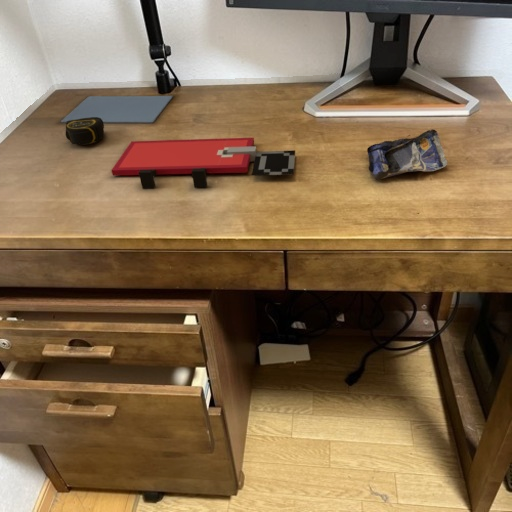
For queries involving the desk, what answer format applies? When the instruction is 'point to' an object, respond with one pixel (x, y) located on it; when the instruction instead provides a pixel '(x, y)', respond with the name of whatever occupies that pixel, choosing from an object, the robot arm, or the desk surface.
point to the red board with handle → (200, 159)
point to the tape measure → (84, 130)
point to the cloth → (120, 108)
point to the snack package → (406, 155)
